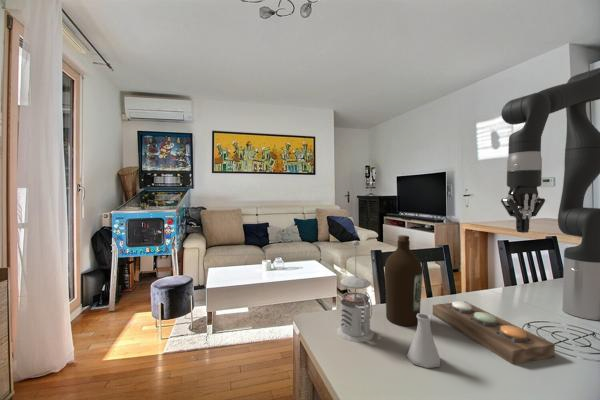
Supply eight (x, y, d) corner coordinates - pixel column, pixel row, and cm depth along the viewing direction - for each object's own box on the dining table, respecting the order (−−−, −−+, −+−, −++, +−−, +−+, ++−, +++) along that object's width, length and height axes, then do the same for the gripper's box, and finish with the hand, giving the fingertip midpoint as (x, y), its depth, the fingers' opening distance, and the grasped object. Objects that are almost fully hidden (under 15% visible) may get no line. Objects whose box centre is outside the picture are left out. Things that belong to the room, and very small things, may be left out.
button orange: (511, 339, 72) (511, 324, 72) (531, 349, 67) (531, 334, 67) (495, 341, 71) (495, 326, 71) (514, 352, 66) (514, 336, 66)
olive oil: (379, 321, 83) (380, 236, 82) (389, 309, 92) (390, 232, 91) (418, 331, 77) (419, 240, 77) (424, 317, 86) (426, 235, 85)
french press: (361, 321, 83) (362, 236, 82) (385, 341, 72) (386, 243, 71) (331, 326, 80) (331, 238, 79) (351, 348, 69) (351, 246, 68)
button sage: (484, 324, 80) (484, 311, 79) (500, 333, 75) (500, 319, 75) (469, 326, 78) (469, 313, 78) (484, 335, 74) (485, 321, 74)
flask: (445, 371, 60) (446, 324, 60) (409, 367, 62) (410, 321, 61) (436, 352, 67) (436, 310, 67) (404, 348, 69) (404, 308, 68)
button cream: (462, 312, 87) (462, 300, 87) (475, 320, 83) (475, 307, 82) (448, 314, 86) (448, 302, 86) (460, 321, 81) (461, 308, 81)
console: (465, 310, 91) (465, 301, 91) (554, 357, 65) (554, 344, 65) (432, 314, 88) (432, 304, 88) (512, 364, 63) (512, 350, 63)
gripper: (529, 170, 83) (527, 229, 84) (492, 170, 80) (490, 231, 81) (557, 168, 76) (555, 233, 76) (517, 168, 73) (516, 235, 73)
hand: (522, 232), depth 78 cm, fingers closed
